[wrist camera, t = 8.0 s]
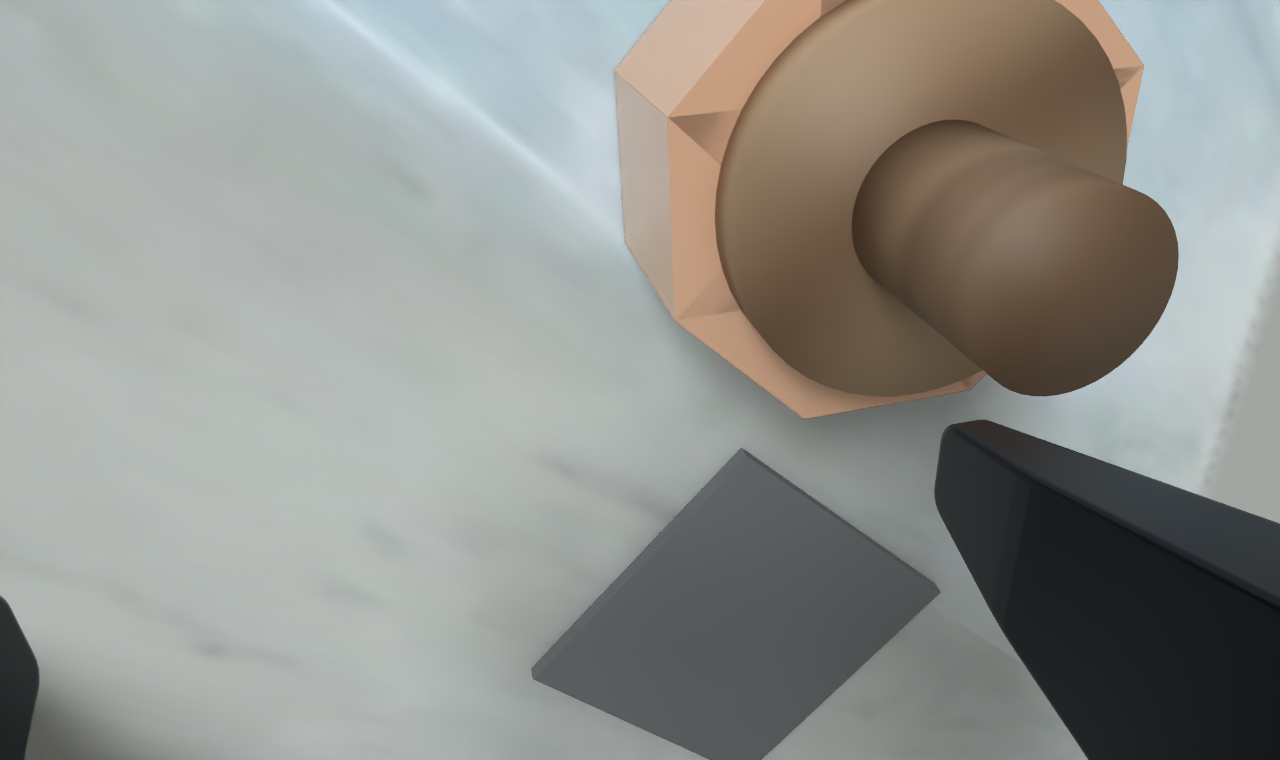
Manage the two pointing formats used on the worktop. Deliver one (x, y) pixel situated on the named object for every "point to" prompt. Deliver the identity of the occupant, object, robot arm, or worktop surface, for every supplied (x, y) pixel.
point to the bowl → (693, 152)
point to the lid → (942, 202)
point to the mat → (737, 618)
